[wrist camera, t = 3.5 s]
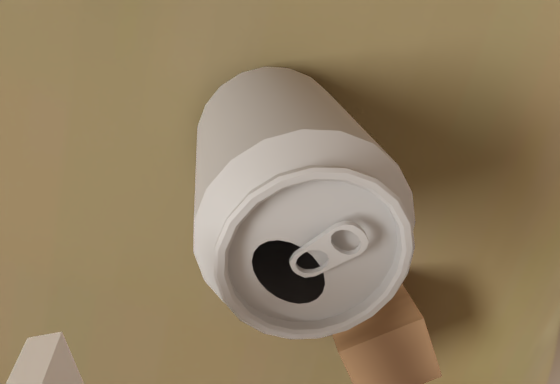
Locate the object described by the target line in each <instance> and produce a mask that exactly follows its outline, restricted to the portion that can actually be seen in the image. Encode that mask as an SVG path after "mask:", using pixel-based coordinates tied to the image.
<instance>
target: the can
mask: <svg viewBox="0 0 560 384" xmlns="http://www.w3.org/2000/svg"><path fill="white" fill-rule="evenodd" d="M414 226H415V213H414V204H413V194H412V191H411V189H410V187H409V185H408V183H407V181H406V179H405V177H404V175H403V173H402V171H401V169H400V167H399V165H398V164H397V163H396V162H395V161H394V160H393V159H392V158H391V157H390V156H389V155H388V154H387V153H386V152H385V151H384V150H383V149H382V148H381V147H380V146H379V145H378V144H377V143H376V141H375V140H374V139H373V138H372V137H371V136H370V135H369V134H368V133H367V132H366V131H365V130H364V129H363V128H362V127H361V126H360V125H359V124H358V123H357V122H356V121H355V120H354V119H353V118H352V117H351V116H350V115H349V113H348V112H347V111H346V110H345V109H344V108H343V107H342V106H341V105H340V104H339V103H338V102H337V101H336V100H335V99H334V98H333V97H332V96H331V95H330V94H329V93H328V92H327V91H326V90H325V89H324V88H323V87H322V86H320V85H319V84H318V83H317V82H316V81H315V80H314V79H313V78H311V77H310V76H307V75H305V74H302V73H300V72H297V71H295V70H293V69H290V68H280V67H261V68H258V69H254V70H250V71H246V72H242V73H240V74H238V75H237V76H235V77H234V78H232V79H231V80H229V81H228V82H226V83H225V84H223V85H221V86H220V87H219V89H218V90H217V91H216V92H215V94H214V95H213V96H212V97H211V99H210V100H209V101H208V102H207V104H206V105H205V107H204V110H203V113H202V116H201V118H200V121H199V124H198V127H197V153H196V179H195V206H194V255H195V257H196V260H197V263H198V265H199V268H200V270H201V273H202V276H203V278H204V281H205V282H206V283H207V284H208V285H209V286H210V287H211V288H212V290H213V291H214V292H215V293H216V294H217V295H218V296H219V297H220V299H221V300H222V301H223V302H224V303H225V304H226V305H227V306H228V307H229V308H230V309H231V310H232V312H233V313H234V314H235V315H236V316H237V317H238V318H239V320H241V321H242V322H244V323H246V324H248V325H250V326H251V327H253V328H255V329H257V330H259V331H260V332H262V333H265V334H269V335H273V336H278V337H282V338H287V339H313V338H322V337H326V336H329V335H333V334H336V333H340V332H343V331H347V330H349V329H351V328H353V327H354V326H356V325H358V324H360V323H362V322H363V321H365V320H367V319H369V318H371V317H372V316H374V315H375V314H376V313H377V312H378V311H379V310H380V309H381V308H382V307H383V306H384V305H385V304H387V303H388V302H389V301H390V300H391V299H392V298H393V297H394V296H395V294H396V292H397V291H398V289H399V287H400V286H401V284H402V283H403V281H404V279H405V278H406V276H407V275H408V272H409V268H410V264H411V260H412V257H413V253H414V249H415V245H414V235H413V230H414Z"/></svg>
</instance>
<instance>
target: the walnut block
mask: <svg viewBox="0 0 560 384" xmlns="http://www.w3.org/2000/svg"><path fill="white" fill-rule="evenodd" d="M333 338H334V341H335V344H336V347H337V350H338V352H339V355H340V357H341V359H342V361H343V363H344V365H345V368H346V370H347V372H348V374H349V376H350V379H351V381H352V383H353V384H424V383H426V382H429V381H431V380H434V379H436V378H439V377H441V376H442V374H441V371H440V368H439V365H438V362H437V359H436V355H435V352H434V349H433V346H432V343H431V340H430V336H429V333H428V330H427V327H426V324H425V320H424V318H423V316H422V314H421V313H420V311H419V310H418V308H417V306H416V305H415V303H414V302H413V300H412V298H411V297H410V295H409V294H408V292H407V290H406V289H405V287H404V286H403V284H401V286H400V287H399V289H398V291H397V292H396V294H395V296H394V297H393V298H392V299H391V300H390V301H389V302H388V303H387V304H385V305H384V306H383V307H382V308H381V309H380V310H379V311H378V312H377V313H376V314H375V315H374V316H372V317H371V318H369V319H367V320H365V321H363V322H362V323H360V324H358V325H356V326H354V327H353V328H351V329H349V330H347V331H343V332H340V333H336V334H333Z"/></svg>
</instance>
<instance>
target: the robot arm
mask: <svg viewBox="0 0 560 384" xmlns="http://www.w3.org/2000/svg"><path fill="white" fill-rule="evenodd" d="M6 384H84V383H83V380H82V378H81V376H80V373H79V371H78V368H77V366H76V364H75V361H74V359H73V357H72V354H71V352H70V350H69V347H68V345H67V343H66V340H65V338H64V335H63V333H62V332H57V333H52V334H46V335H41V336H35V337H29V338H27V340H26V342H25V344H24V346H23V348H22V351H21V353H20V355H19V357H18V359H17V361H16V363H15V365H14V368H13V370H12V372H11V374H10V376H9V378H8V380H7V382H6Z"/></svg>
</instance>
